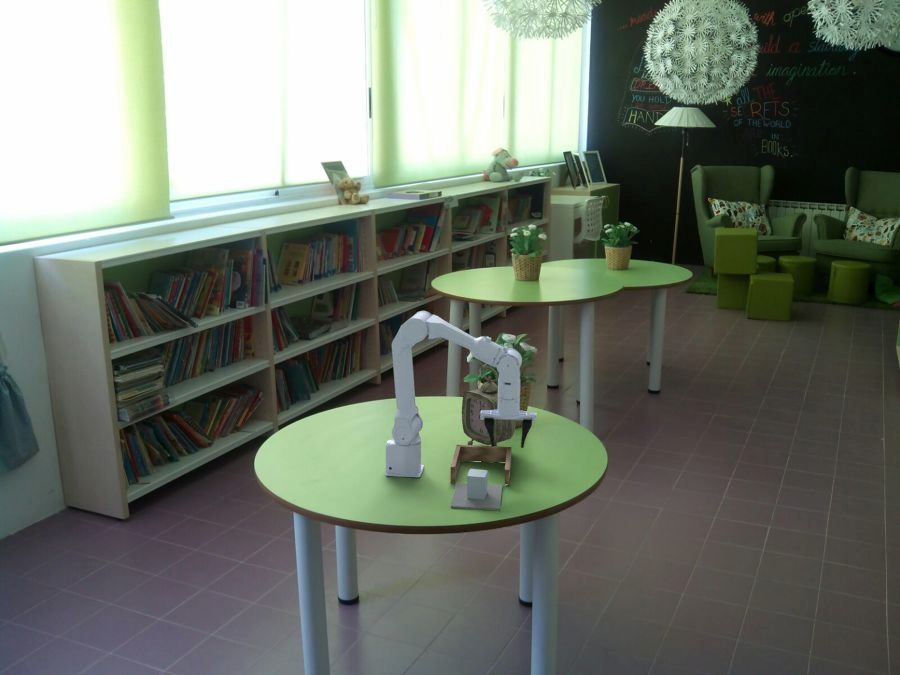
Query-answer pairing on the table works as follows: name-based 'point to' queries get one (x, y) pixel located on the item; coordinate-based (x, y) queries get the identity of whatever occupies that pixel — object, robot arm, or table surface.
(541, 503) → the table surface
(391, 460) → the robot arm
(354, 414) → the table surface
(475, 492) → the block
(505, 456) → the brown u-shaped frame
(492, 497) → the pad
